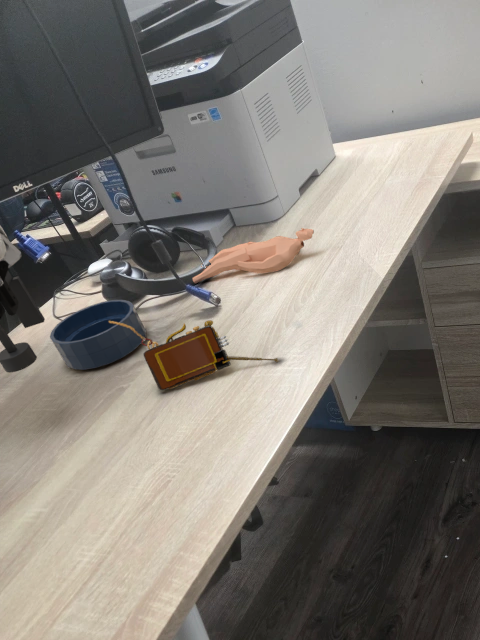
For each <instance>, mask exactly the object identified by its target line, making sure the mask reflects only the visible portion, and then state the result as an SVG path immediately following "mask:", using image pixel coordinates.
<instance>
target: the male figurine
mask: <svg viewBox="0 0 480 640" xmlns="http://www.w3.org/2000/svg"><path fill="white" fill-rule="evenodd" d="M314 233H315V230H314V229H312V228H303V227H301V228H300V230H297V231H296V232H295V236H296V238H291V237H286V236H282V235H277V236H276V235H275V236H274V237H272V238H269V239H267V240H265V241H259V242H257V241H248V242H244V243H239V244H237V245H234V246H232V247H228V248H223V249H221V250H220V251H219V252H218V253H216V254H215V255H214V256H212V257H211V258H210V259H209V260H208V261H209V262H210V263H211V265H209V266H206V268H205V269H201V270H202V271H201V273H199V274H197V275H195V276H193V277H192V281H193V283H194V284H198V283H200V282H202V281H204V280H207V279H209V278H213V277H215V276H217V275H219V274H222V273H224V272H228V271H233V270H237V271H245V272H249V273H253V274H268V273H273V272H274V273H275V272H278V271H281V270H283V269H285V268H286V267H288V266H289V265H291V263H292V262H293V261H294V260H295V258H296V256H297V255H299V254H300V252H301V250H302V249H303V248H304V247H305V243H304V241H308V240H310V239H312V238H313V235H314ZM202 264H203V263H201V264H200V268H201V267H202V266H201V265H202Z"/></svg>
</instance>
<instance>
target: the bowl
mask: <svg viewBox="0 0 480 640" xmlns="http://www.w3.org/2000/svg"><path fill="white" fill-rule="evenodd" d="M109 321H114V322H118V323H119V322H120V323H123V324H126V325H128V326H131V327H132V328H134V329H135V331H137V333H138V334H139V335H141V336H142V337H144V338H145V339H146V337H147V330H146V328H145V325H144V323H143V322H142V319H141V317H140V316H139V312H138V311H137V309H136V307H135V306H134V304H133V303H132V302H131V301H129V300H127V299H126V300H125V299H112V300H106V301H101V302H98V303H94V304H92V305H88V306H86V307H83V308H82V309H79V310H76V311H75V312H73V313H72V314H70V315H68V316H66V317H65V318H63V319H62V320H61V321H60V322H58V323H57V324H56V325H55V327H53V329H52V330H51V331H50V335H49V339H50V340H51V342H52V343H53V345H54V347H55V348H56V350H57V352H58V353H59V355H60V356H61V358H62V360H63V362H64V363H65V365H66V366H67V367H68V368H69V369H73V370H80V371H81V370H91V369H96V368H100V367H104V366H107V365H109V364H113V363H114V362H116V361H119V360H121V359H123V358H124V357H126V356H128V355H129V354H130V353H132V352H134V351H135V350H136V349H137V348H138V347H139V346H140V345H142V343H141V341H142V340H143V339H144V338H141V337H140V336H138V335H137V334H136V332H135V333H134V331H132V330H133V329H132V330H131V329H130V328H131V327H130V328H127V327H126V326H122V325H116V324H113V323H109Z"/></svg>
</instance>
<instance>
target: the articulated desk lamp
mask: <svg viewBox="0 0 480 640" xmlns="http://www.w3.org/2000/svg"><path fill="white" fill-rule="evenodd" d="M5 280H6V282H7V283H8V285H9V286H10V288H11V290H12V291H13V293H14V294H15V296H16V298H17V299H18V302H19V304H18V309H17V312H16V314H15V315H16V317H17V318H18V320H19V321H20V323H21V324H22V325H23V327H24V329H27V328H30V327H33V326H36V325H40V324H43V323H45V317H44V315H43V314H42V312H41V310H40V308H39V307H38V306H37V305H38V304H37V303H36V302H35V300H34V299H33V297H32V295H31V294H30V292H29V291H28V288H26V286H25V284H24V282H23V280H22V279H21V277H20V276H19V275H17V276H14V277H13V276H12V274H11V273H10V271H9V270H8V273H7V277H6V279H5ZM0 303H1V302H0ZM0 344H1V345H2V346H3V347H4V349H3V350H1V351H0V366H1V367H2V368H3V369H4V371H5V372H6V373H17V372H21V371H22V370H24V369H27V368H29V367H30V366H31V365H33V364H34V363H35V362H36V361H37V359H38V357H37V355H36V353H35V351H34V350H33V348H32V347H31V345H30V344H29V343H28V342H18V343H14V342H13V340H12V339H11V338H10V336H9V334H8V333H7V331H6V330H5V328H4V327H3V325H2V324H1V323H0Z"/></svg>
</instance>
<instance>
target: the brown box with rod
mask: <svg viewBox="0 0 480 640" xmlns="http://www.w3.org/2000/svg"><path fill="white" fill-rule="evenodd" d="M109 323H113V324H116V325H122V326H126V327H127V328H130V327H131V326H128V325H126V324H123V323H120V322H119V323H118V322H114V321H109ZM213 325H214V321H213V319H208V320H205V322H204V324H203V327H200V326H199V325H196V326H194V327H193V328H192V330H193V331H192V330H189V331H187V332H185V334H183V335H180V336H178V337H175V336H177V335H179V334H181V333H183V332H184V331H185V330H186V329H187V324H186V323H185V322H183V324H182V327H181V328H180V329H178V330H177V331H174V332H173V333H171V334H170V335H168V336H167V338H166V340H165V343H161V344H159V343H158V341H153V340H152V339H150V338H146V337H145V338H144V337H142V336H141V335H139V334H138V333H137V331H135V329H134V328H132V327H131V328H130V329H131V330H132V329H133V330H132V331H134V333H135V332H136V334H137V335H138V336H140V337H141V338H144V339H143V340H142V341H141V345H143V346H145V347H147V350H145V351H143V357H144V361H145V363H146V364H147V366H148V368H149V371H150V373H151V375H152V378H153V380H154V382H155V385H156V386H157V388H158V390H159V391H164V390H172V389H174V388H177V387H179V386H181V385H185V384H186V383H189V382H192V381H195V382H196V381H199V380H201V379H203V378H206V377H208V376H210V375H213V374H215V373H216V371H221V370H223V369H225V368H227V367H230V366H231V365H232V364H231V362H232V361H261V362H262V361H271V362H273V361H274V362H276V363H278V362H279V358H278V357H276V358H262V357H250V356H249V357H248V356H234V355H233V356H232V355H231V356H230V355H228V353H227V351H226V349H224V347H227V346H229V345H230V342H228V340H230V339H227V337H228V336H227V335H223V336H221V337H220V335H219V333H218V331H216V329H215V328H214V326H213ZM174 337H175V338H174ZM146 341H147V344H145V343H144V342H146ZM150 346H151V347H150Z"/></svg>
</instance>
